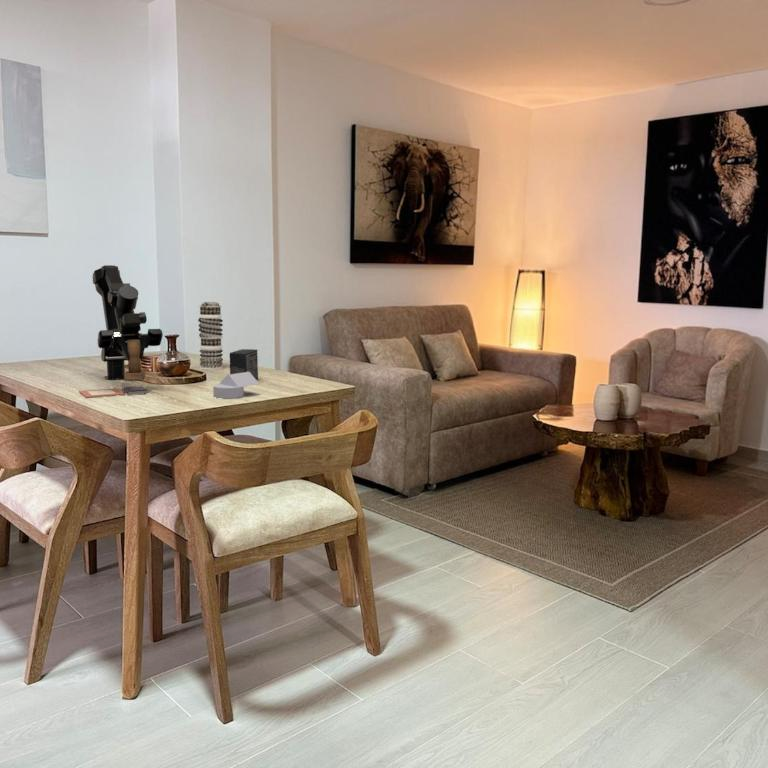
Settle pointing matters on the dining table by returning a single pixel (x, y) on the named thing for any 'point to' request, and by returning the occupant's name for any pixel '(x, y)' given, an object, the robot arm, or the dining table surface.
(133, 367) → the stamp
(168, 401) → the dining table surface
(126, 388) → the ink pad
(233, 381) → the wedge on round base
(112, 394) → the print card
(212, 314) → the decorative candle
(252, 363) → the small box
